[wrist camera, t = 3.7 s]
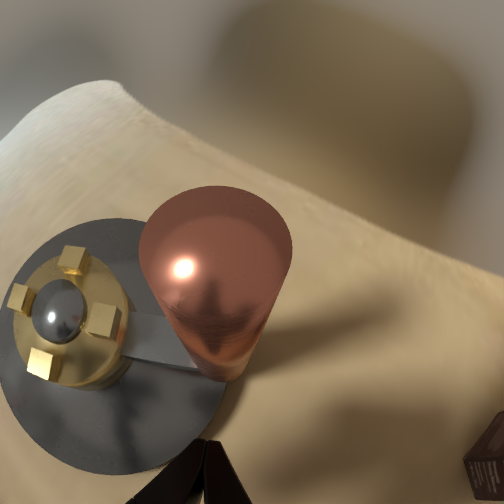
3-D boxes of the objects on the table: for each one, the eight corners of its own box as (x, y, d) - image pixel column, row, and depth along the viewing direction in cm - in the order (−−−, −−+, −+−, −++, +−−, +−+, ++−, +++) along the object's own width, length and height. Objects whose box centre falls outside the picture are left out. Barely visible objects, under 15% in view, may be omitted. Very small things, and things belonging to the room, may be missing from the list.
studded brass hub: (31, 371, 11) (-101, 296, 3) (59, 271, 15) (-26, 151, 6) (243, 423, 12) (287, 455, 3) (252, 298, 16) (288, 138, 7)
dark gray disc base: (135, 520, 9) (129, 527, 8) (-21, 347, 12) (-31, 341, 11) (282, 306, 17) (286, 298, 16) (100, 197, 21) (96, 187, 20)
